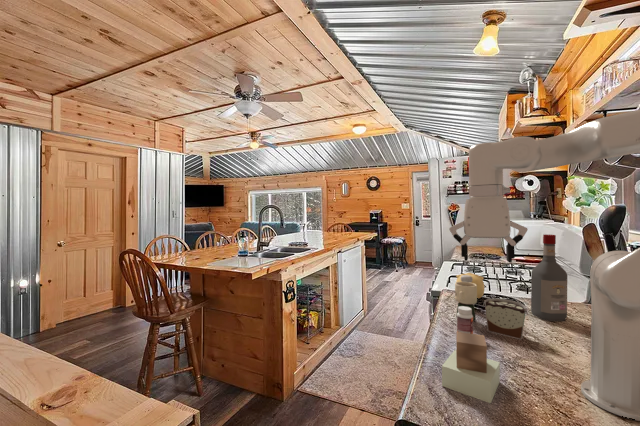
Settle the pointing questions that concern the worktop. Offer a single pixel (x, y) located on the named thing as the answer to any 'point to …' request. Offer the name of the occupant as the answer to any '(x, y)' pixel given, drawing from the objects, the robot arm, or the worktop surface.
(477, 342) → the walnut block
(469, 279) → the salt shaker
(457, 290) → the character mug
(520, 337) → the food container
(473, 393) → the sage block
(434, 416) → the worktop surface
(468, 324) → the pill bottle
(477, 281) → the sculpture
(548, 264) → the liquor
